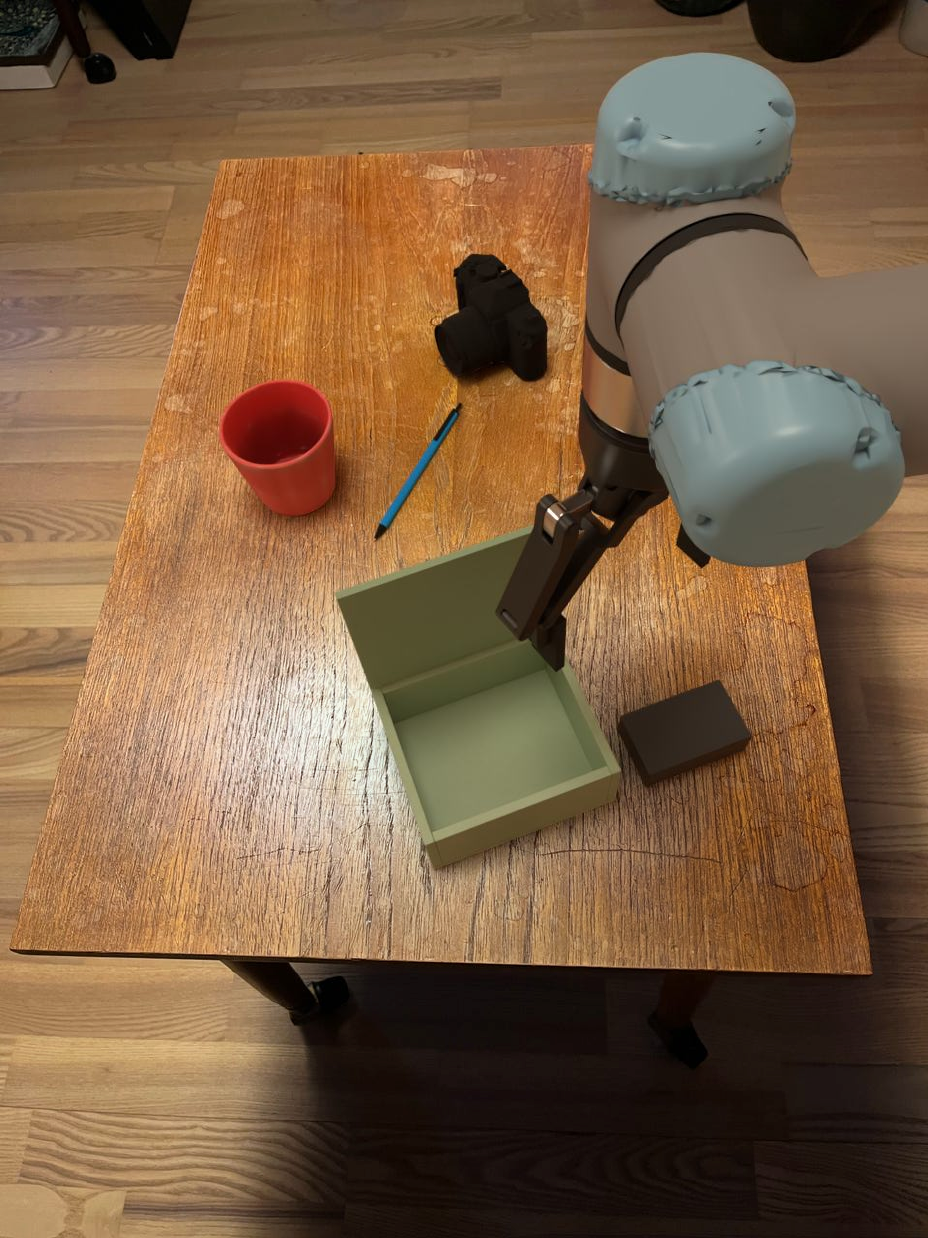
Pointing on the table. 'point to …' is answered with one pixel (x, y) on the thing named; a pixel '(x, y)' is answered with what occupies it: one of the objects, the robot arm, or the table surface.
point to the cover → (431, 609)
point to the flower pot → (282, 444)
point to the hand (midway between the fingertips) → (621, 604)
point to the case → (494, 749)
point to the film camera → (492, 322)
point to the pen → (417, 471)
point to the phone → (683, 733)
